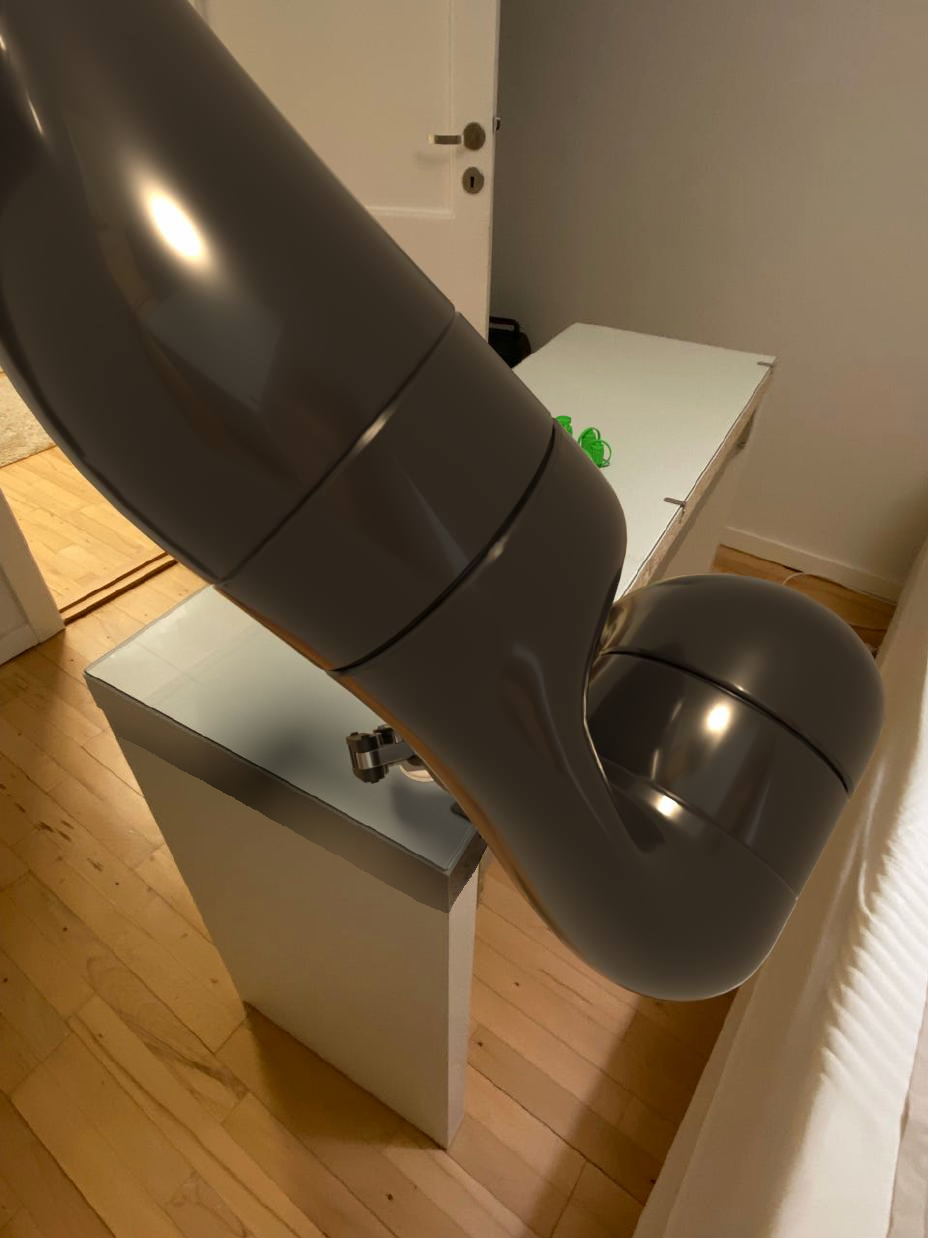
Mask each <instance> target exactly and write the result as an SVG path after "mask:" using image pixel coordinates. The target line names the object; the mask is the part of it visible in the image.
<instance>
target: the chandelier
mask: <svg viewBox="0 0 928 1238" xmlns="http://www.w3.org/2000/svg"><path fill="white" fill-rule="evenodd" d="M555 418H556V419H557V420H558V421H559V422H560V423H561V425H562V426H563V427H564V428H565V429H566V430H567V431H568V433H569V434H570V435H571V436H572V437H573V432H574V431H573V426H572V425H570V424H572V418H571V416H568V415H558V416H556V417H555ZM594 430H595V431H594ZM596 435H597V436H596ZM601 438H602V437H601V431H600V430H599V429H598V428H596V427H594V426H593V427H592V426H591V427H587V428H586V429H584V430H583V431H582V432H581V433H580V435H579V436H578V438H577V441H576V442H577V443H578V444H579V445H580V446H581V447H582V448H583V450H584V451H585V452H586V453H587V454H588V456H589V457H590V458H591V459H592V460H593V461H594V463H595V464H596V465H597V466H598V467H599V468H600V467H603V466H605V465H607V464H608V463H609V461H610V460H611V458H612V448H611V445H609V443H608V442H607V441H606V440H603V439H601ZM604 445H605V446H606V447H607V448H608V451H609V455H608V458H607V459H606V460H605V461H604V455H605V446H604Z"/></svg>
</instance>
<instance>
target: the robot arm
mask: <svg viewBox="0 0 928 1238" xmlns="http://www.w3.org/2000/svg"><path fill="white" fill-rule="evenodd" d="M469 321H470V320H468V319H467V318H466V317H465V315H464V314H462V312H461V311H459V310H456V305H454V303H453V302H452V301H451V300H450V299H449V298H448V297H447V296H446V295H445V293H444V292H443V291H442V290H441V289H440V288H439V287H438V286H437V285H436V283H434V282H433V281H432V280H431V278H430V277H429V276H428V275H427V274H426V273H425V272H424V271H423V269H422V268H420V266H419V265H418V264H417V263H416V261H414V259H412V257H411V256H410V255H409V254H408V253H407V252H406V251H405V250H404V248H402V247H401V245H400V244H399V243H398V242H397V241H396V239H395V238H394V237H392V235H391V234H390V233H389V232H388V231H387V230H386V229H385V228H384V227H383V225H382V224H380V222H379V221H378V220H377V219H376V218H375V216H374V215H373V214H372V213H371V212H370V211H369V210H368V208H366V207H365V205H364V204H363V203H362V202H361V201H360V200H359V198H357V197H356V195H355V194H354V193H353V192H352V191H351V189H350V188H348V186H347V185H346V184H345V183H344V182H343V181H342V179H340V177H339V176H338V175H337V174H336V173H335V172H334V171H333V169H331V167H330V165H328V163H326V161H325V160H324V159H323V158H322V157H321V156H320V154H318V152H316V150H315V149H314V148H313V147H312V145H311V144H310V143H308V141H307V139H305V138H304V137H303V135H302V134H301V133H300V132H299V131H298V130H297V128H296V127H295V126H294V125H293V124H292V123H291V121H290V120H289V119H288V117H286V115H284V113H283V112H282V111H281V110H280V108H279V107H278V106H277V105H276V104H275V103H274V102H273V101H272V99H271V98H270V97H269V96H268V95H267V94H266V92H265V91H264V90H263V89H262V87H260V86H259V84H258V83H257V82H256V81H255V79H254V78H253V77H252V76H251V75H250V74H249V72H247V70H246V69H245V68H244V66H242V65H241V63H240V62H239V61H238V60H237V59H236V57H235V56H234V55H233V53H232V52H231V51H230V50H229V49H228V48H227V46H226V45H225V44H224V43H223V41H222V40H221V39H220V38H219V36H218V35H217V34H216V32H214V31H213V29H212V28H211V27H210V25H209V24H208V23H207V22H206V21H205V19H204V18H203V17H202V15H201V14H200V13H199V12H198V10H196V9H195V7H194V5H192V3H191V2H190V1H189V0H0V368H1V369H2V371H3V373H4V375H5V376H6V377H7V379H8V381H9V383H10V384H11V385H12V387H13V388H14V390H15V392H16V393H17V395H18V396H19V397H20V399H21V401H23V403H24V404H25V405H26V407H27V408H28V410H29V411H30V412H31V414H32V415H33V417H34V418H35V419H36V421H37V423H38V424H39V425H40V426H41V427H42V429H43V430H44V432H45V433H46V435H48V437H49V438H50V439H51V440H52V441H53V442H54V444H55V445H56V446H57V447H58V449H59V450H60V451H61V453H63V454H64V456H65V457H66V458H67V459H68V461H70V463H71V464H72V465H73V466H74V467H75V469H76V470H77V471H78V472H79V474H81V476H82V477H83V478H84V479H85V480H86V481H87V482H88V483H90V485H91V486H92V487H93V488H94V489H95V490H96V491H98V493H99V494H100V495H101V496H102V497H103V498H104V499H105V500H106V501H107V502H108V503H109V504H110V505H111V506H112V507H113V508H114V509H115V510H116V511H117V512H118V513H119V514H120V515H121V516H122V517H124V518H125V519H126V520H127V521H129V522H130V523H131V524H132V525H133V526H134V527H136V528H137V529H138V530H139V531H140V532H141V533H142V534H143V535H145V536H146V537H147V538H148V539H149V540H151V541H152V542H153V543H154V544H155V545H156V546H158V547H159V548H160V549H161V550H162V551H163V552H165V553H166V554H167V555H169V556H170V557H171V558H172V559H173V560H175V561H176V562H177V563H179V564H180V565H181V566H182V567H184V568H185V569H186V570H187V571H188V572H190V573H192V574H193V575H194V576H195V577H197V578H198V579H199V580H200V581H201V582H203V583H204V584H205V585H207V586H212V590H214V591H215V592H216V593H218V594H219V595H220V596H222V597H223V598H224V599H226V600H227V601H229V602H230V603H231V604H233V605H234V606H235V607H236V608H238V609H239V610H241V611H242V612H243V613H244V614H246V615H247V616H248V617H249V618H251V619H253V620H254V621H255V622H256V623H258V624H259V625H261V626H262V627H263V628H264V629H266V630H267V631H268V632H270V633H271V634H272V635H274V636H275V637H277V638H278V639H279V640H281V642H283V643H284V644H286V645H287V646H288V647H289V648H291V649H292V650H294V651H295V652H297V653H298V654H299V655H300V656H302V657H303V658H304V659H306V660H307V661H308V662H309V663H311V664H312V665H313V666H315V667H316V668H318V669H319V670H322V671H323V672H324V673H325V674H326V676H328V677H329V678H331V679H332V680H333V681H334V682H336V683H337V684H339V685H340V686H341V687H342V688H344V689H345V690H346V691H348V692H349V693H350V694H351V695H353V696H354V697H355V698H356V699H358V700H359V702H361V703H362V704H364V706H365V707H367V708H368V709H369V710H370V711H372V712H373V713H374V714H375V715H376V716H377V717H378V718H380V719H381V720H382V721H383V722H384V723H385V724H379V725H377V727H375V728H373V729H371V731H372V733H369V732H359V731H353V732H350V735H347V736H345V737H344V738H345V743H346V745H347V748H348V753H349V757H350V763H351V770H352V776H353V777H356V778H357V779H359V780H360V781H362V783H364V784H367V783H370V784H371V785H373V784H377V783H379V782H380V780H383V779H385V778H386V776H387V775H389V774H390V773H391V772H390V769H389V768H392V767H394V766H399V765H401V766H402V767H403V768H404V770H405V771H407V772H412V771H421V770H426V771H427V772H428V773H429V775H430V776H431V777H432V779H433V780H434V781H433V782H435V784H437V786H439V787H440V788H441V789H442V790H444V791H445V792H446V793H447V794H449V795H450V796H452V798H454V800H455V801H456V803H457V804H458V805H459V806H460V808H461V809H462V811H463V812H464V814H465V815H466V817H467V818H468V819H469V821H470V822H471V823H472V825H473V826H474V828H475V829H476V830H477V832H478V833H479V835H480V837H481V838H482V839H483V842H485V844H486V845H487V847H488V848H489V850H490V851H491V852H492V855H493V856H494V857H495V859H496V861H497V862H498V864H499V865H500V866H501V868H502V869H503V870H504V872H505V874H506V875H507V876H508V878H509V879H510V881H511V882H512V884H513V885H514V887H515V888H516V889H517V891H518V892H519V893H520V895H521V897H523V899H524V900H525V902H526V903H527V904H528V905H529V906H530V907H531V909H532V910H533V911H534V913H535V914H536V915H537V916H538V918H539V919H540V920H541V921H542V922H543V923H544V925H545V926H546V927H547V928H548V930H549V931H550V933H552V934H553V935H554V937H555V938H556V939H557V940H558V941H559V942H560V943H561V944H562V945H563V946H564V947H565V948H567V949H568V950H569V951H570V953H572V954H573V955H574V956H575V957H576V958H577V959H578V960H579V961H581V962H582V963H583V965H586V966H587V967H588V968H589V969H590V970H592V971H593V972H594V973H596V974H598V976H599V975H600V976H601V977H602V978H604V979H605V980H607V981H608V982H610V983H612V984H614V985H616V986H617V987H620V988H622V989H623V990H625V991H627V992H628V991H629V992H630V993H633V994H635V995H638V996H640V997H641V996H642V997H645V998H648V999H652V1000H658V1001H660V1002H661V1001H662V1002H670V1003H671V1002H672V1003H684V1002H685V1003H687V1002H698V1001H704V1000H708V999H712V998H716V997H719V996H722V995H725V994H727V993H729V992H732V991H733V990H735V989H736V988H738V987H740V986H741V985H742V984H744V983H745V982H746V981H748V980H749V979H750V978H751V977H753V975H754V974H755V973H756V972H757V971H758V969H759V968H760V967H761V965H763V963H764V962H765V960H766V959H767V958H768V957H769V955H770V953H771V952H772V951H773V949H774V947H775V945H776V943H777V942H778V940H779V938H780V936H781V934H782V932H783V931H784V928H785V927H786V925H787V923H788V920H789V919H790V916H792V913H793V911H794V909H795V907H796V905H797V904H798V901H797V900H799V898H800V896H801V894H802V893H803V891H804V889H805V886H806V885H807V883H808V880H809V879H810V877H811V875H812V873H813V872H814V870H815V868H816V866H817V864H818V862H819V860H820V858H821V856H822V854H823V853H824V851H825V849H826V847H827V845H828V843H829V842H830V839H831V838H832V836H833V834H834V832H835V830H836V828H837V826H838V824H839V822H840V821H841V819H842V817H843V815H844V813H845V812H846V810H847V807H848V805H849V801H850V800H851V799H852V798H853V796H854V795H855V792H856V790H857V788H858V787H859V784H860V783H861V781H862V779H863V777H864V775H865V773H866V772H867V770H868V767H869V765H870V763H871V761H872V759H873V757H874V755H875V753H876V751H877V748H878V746H879V743H880V740H881V736H882V732H883V729H884V725H885V720H886V689H885V685H884V682H883V679H882V675H881V673H880V670H879V667H878V663H877V662H876V660H875V658H874V656H873V654H872V652H871V650H869V648H868V647H867V645H866V644H865V643H864V641H863V640H862V638H861V637H860V636H859V635H858V633H857V632H856V631H855V630H854V629H853V628H852V627H851V625H850V624H849V623H847V621H845V620H844V619H843V618H842V617H841V616H840V615H838V614H837V612H834V611H833V610H832V609H830V608H829V607H827V606H826V605H824V604H822V603H821V602H819V601H818V600H816V599H815V598H813V597H811V596H810V595H807V594H806V593H804V592H802V591H799V590H797V589H795V588H793V587H790V586H788V585H785V584H782V583H779V582H776V581H773V580H769V579H766V578H761V577H756V576H751V575H744V574H736V573H724V572H723V573H722V572H700V573H699V572H698V573H688V574H682V575H676V576H671V577H668V578H664V579H661V580H657V581H654V582H651V583H648V584H647V585H644V586H641V587H639V588H637V589H635V590H634V589H633V590H632V591H630V592H629V593H626V594H624V595H623V596H622V597H620V598H617V600H615V598H616V596H617V591H618V588H619V585H620V581H621V578H622V573H623V569H624V563H625V559H626V555H627V547H628V530H627V529H628V527H627V520H626V519H627V518H626V515H625V511H624V508H623V506H622V504H621V501H620V499H619V497H618V495H617V492H616V491H615V489H614V487H613V486H612V484H611V483H610V481H609V480H608V479H607V477H606V476H605V474H604V473H603V471H602V470H601V469H600V467H598V466H597V465H596V464H595V463H594V461H593V460H592V459H591V458H590V457H589V456H588V454H587V453H586V452H585V451H584V450H583V448H582V447H581V444H580V445H579V444H578V443H577V441H576V439H575V437H573V435H572V436H571V435H570V434H569V433H568V431H567V430H566V429H565V428H564V427H563V426H562V425H561V423H560V422H559V421H558V420H557V419H556V417H553V416H552V413H551V412H550V410H549V409H548V408H547V407H546V406H545V405H544V403H542V401H541V400H540V399H539V398H538V396H536V395H535V393H534V392H532V390H531V389H530V388H529V387H528V386H527V385H526V383H524V381H523V380H522V379H521V378H520V377H519V376H518V375H517V374H516V373H515V371H514V370H513V369H512V368H511V367H510V366H509V365H508V363H507V362H506V361H505V360H504V359H503V358H502V356H500V355H499V353H498V352H497V351H496V350H495V349H494V348H493V346H492V345H490V343H489V342H488V341H487V340H486V339H485V338H484V336H482V335H481V333H479V331H478V330H477V329H476V328H475V327H474V326H473V325H472V324H471V322H469Z"/></svg>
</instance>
